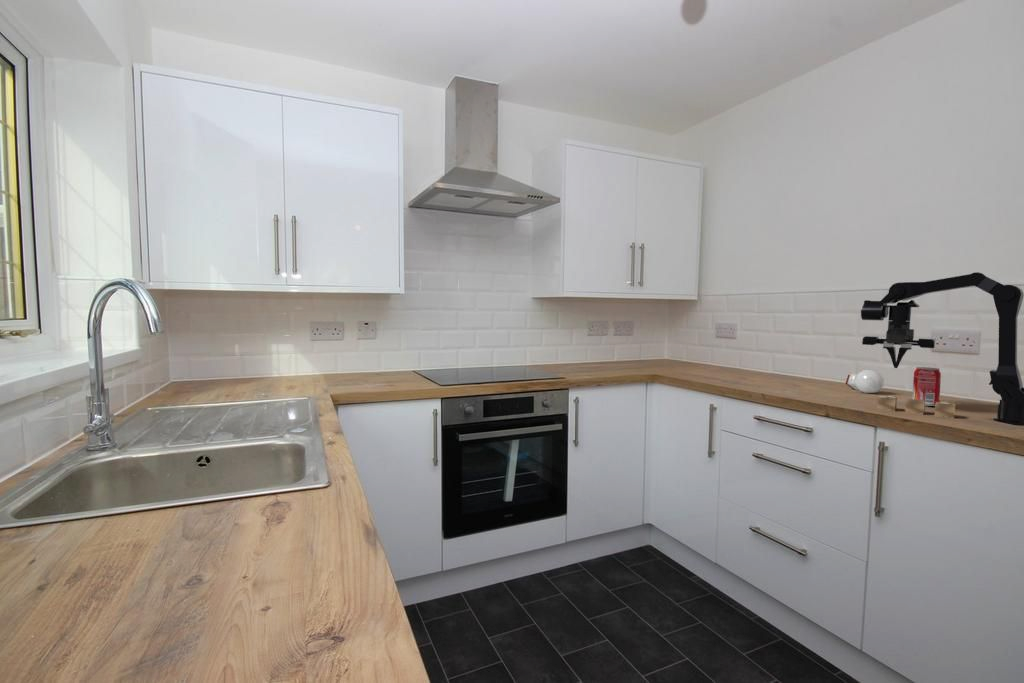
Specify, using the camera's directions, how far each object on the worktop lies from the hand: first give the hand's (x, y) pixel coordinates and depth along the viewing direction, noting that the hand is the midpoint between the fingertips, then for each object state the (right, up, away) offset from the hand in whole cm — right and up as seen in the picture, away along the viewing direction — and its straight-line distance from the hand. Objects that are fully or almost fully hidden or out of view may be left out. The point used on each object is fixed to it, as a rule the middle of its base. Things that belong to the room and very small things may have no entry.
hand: (895, 368), depth 165 cm
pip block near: (+4, -14, -13) cm, 20 cm away
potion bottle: (+13, -12, +34) cm, 38 cm away
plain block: (-1, -14, -9) cm, 16 cm away
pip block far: (-6, -13, -4) cm, 15 cm away
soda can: (+14, -13, +5) cm, 19 cm away
